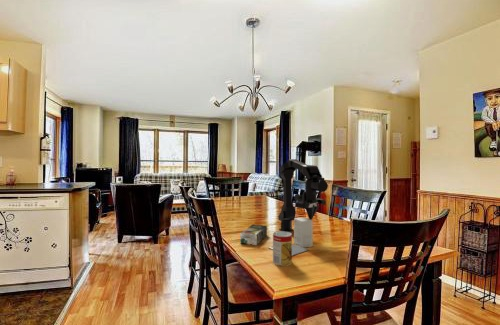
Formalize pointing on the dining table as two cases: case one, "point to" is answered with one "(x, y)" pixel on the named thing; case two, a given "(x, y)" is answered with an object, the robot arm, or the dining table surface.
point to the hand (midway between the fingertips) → (310, 219)
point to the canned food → (282, 248)
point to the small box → (303, 232)
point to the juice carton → (253, 234)
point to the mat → (295, 249)
